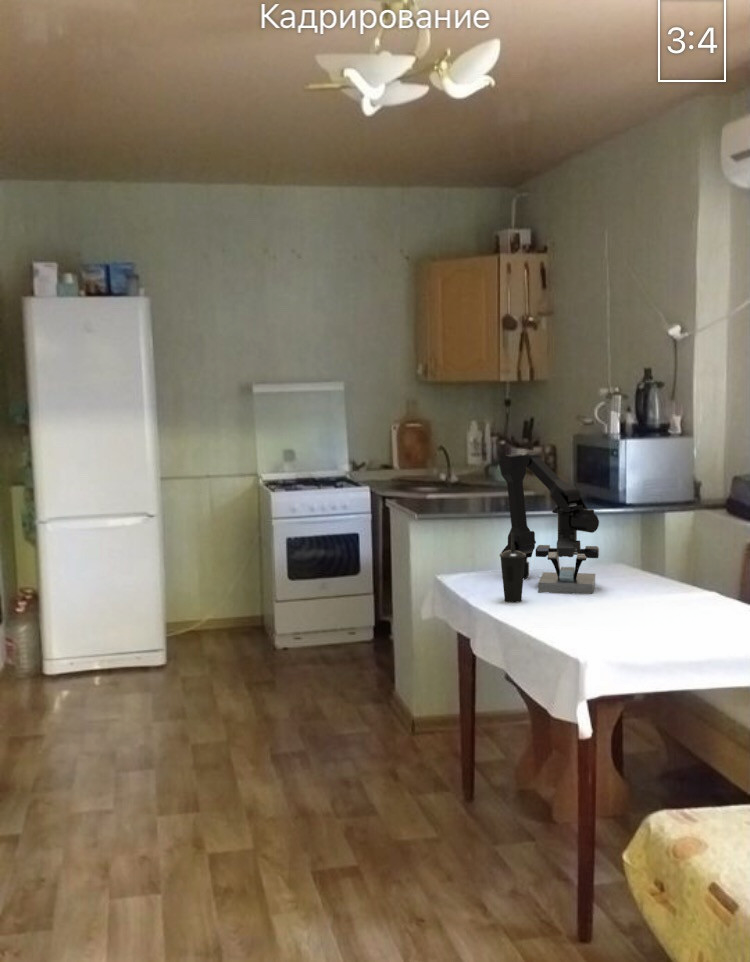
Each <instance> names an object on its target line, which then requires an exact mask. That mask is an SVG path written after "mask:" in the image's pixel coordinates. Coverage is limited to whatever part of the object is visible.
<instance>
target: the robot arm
mask: <svg viewBox="0 0 750 962" xmlns="http://www.w3.org/2000/svg"><path fill="white" fill-rule="evenodd" d="M498 463H499V464H498V465H499V469H500V474H501V476H502V478H503V479H504V481H505V482H506V486H507V487H506V488H507V495H508V503H509V504H508V505H509V516H510V524H511V528H510V531H509V532H508V535H507V545H506V546H505V547H504V548H503V549H502V551H501V552H500V553H503V552H505V551H508V550H512V545H511V532H514V550H518V551H521V552H523V553H525V554H526V557H525V564H524V576H523V580H524V579H527V578H528V577H529V576H530V561H528V558H532V556H533V552H534V550H535V557H536V558H546V557H547V560H549V561H551V563H552V564H553V567H554V569H555V573H557V576H558V579H560V578H559V576H560V569H561V566H560V558H563V557H564V558H565V557H568V558H573V557H574V555H575V556H576V559H575V566H574V567H575V573H574V580H576V577H577V574H578V573H579V570H580V567H581V565H582V563H583V562H585V561H587V559H599V557H600V548H599V547H598V545H597V546H596V545H585V548H581V540H578V537H577V536H578V532H577V531H580V532H585V533H591V534H592V533H595V532H596V531H597V530H598V528H599V525H600V520H599V517H598V515H597V514H596V513H595V510H594V509H588V507H587V505H586V503H585V502H584V499H583V497H582V496H581V493H580V490H579V489H578V488H577V487H575V486H574V485H572V484H571V483H570V482H567V481H564V480H562V478H560V477H559V476H558V475H557V474H556V473H555V472H554V470H552V468H550V467H549V465H548V464H547V463H546V462H545V461H544V460H543V459H542V458H541V456H540V455H539V454H538V453H527V454H526V453H525V454H524V455H523V454H521V453H516V454H515V453H514V454H506V455H503V456H502V457H501V458H500V460H499V462H498ZM527 469H528V470H529V471H530V472H531V473H532V474H533V475H534V476H535V477H536V478H537V479H538V480H539V481H540V482H541V484H543V486H545V488H547V490H548V491H549V495H550V498H551V500H552V501H553V502H554V504H555V505H556V507H555V508H554V509H553V510H552V511H551V513H553V514H557V540H556V547H551V545H550V544H539V545H537V546H536V543H537V541H536V538H535V537H536V533H535V531H534V530H531V529H530V528H529V526H528V523H527V522H528V521H527V510H526V503H525V500H526V499H525V492H524V479H525V477H526V475H527Z"/></svg>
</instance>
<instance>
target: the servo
mask: <svg viewBox="0 0 750 962" xmlns="http://www.w3.org/2000/svg"><path fill="white" fill-rule="evenodd" d="M574 573H575V566H560V576H559V578H560V581H575V580H574Z"/></svg>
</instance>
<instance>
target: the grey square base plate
mask: <svg viewBox="0 0 750 962" xmlns="http://www.w3.org/2000/svg"><path fill="white" fill-rule="evenodd" d="M595 585H596V573H583V572H581V573H579V572H578V574H577V577H576V580H575V581H560V579H558V576H557V573H556V572H549V571H547V572H546V571H544V572H542V574H541V576H540V578H539V580H538V583H537V593H541V592H552V593H551V594H572V593H575V595H576V594H577V593H578V595H579V594H580V595H593V594H594V590H595Z"/></svg>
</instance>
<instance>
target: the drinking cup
mask: <svg viewBox="0 0 750 962" xmlns="http://www.w3.org/2000/svg"><path fill="white" fill-rule="evenodd" d="M511 545H512V550H508V551H505V552H503V553H501V552H500V553H499V558H500V566H501V574H502V575H501V577H502V586H503V587H502V588H503V595H504V601H505V602H507V603H520V602H522V598H523V587H524V579H523V576H524V564H525V557H526V554H525V553H523V552H521V551H518V550H514V532H511Z"/></svg>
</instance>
